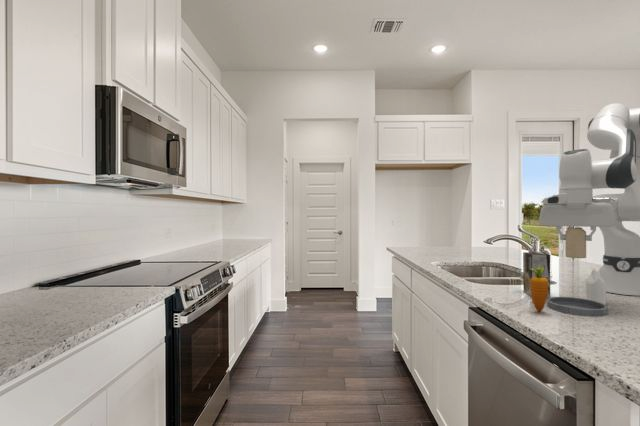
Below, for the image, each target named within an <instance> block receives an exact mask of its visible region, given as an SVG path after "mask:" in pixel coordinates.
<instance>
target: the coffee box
mask: <svg viewBox="0 0 640 426" xmlns="http://www.w3.org/2000/svg"><path fill="white" fill-rule="evenodd" d="M522 261H523V262H522V264H523V265H522V270H523V271H522V272H523V273H522V274H523V276H522V277H523V283H522V284H523V293H525V294H526V295H529V296H530V297H532V296H531V286H530V280H531V278H532V277H536V274H535V273H534V272H533V271H531V270H530V269H534V270H535V271H537V268H538V267H537V266H538V265H540V266H541V269H542V268H544V272H543V274H542V277H544V278H546V279H547V280H548V294H547V299H548V298H551V255H550V254H549V253H548V254H547V253H544V252H541V251H535V252H531V251H528V252H526V251H525V252H522Z"/></svg>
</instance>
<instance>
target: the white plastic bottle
mask: <svg viewBox="0 0 640 426" xmlns="http://www.w3.org/2000/svg"><path fill="white" fill-rule="evenodd" d="M585 293H586V295H585V296H586V299H587V300H592V301H596V302H600V303H603V304H605V305H607V292H606V283H605V282H604V280H603V278H602V277H601V276H600V275H599V273H598V270H597V269H595V268H592V269H591V273H590V275H589V276H588V277H587V278H586V281H585Z"/></svg>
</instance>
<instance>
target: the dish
mask: <svg viewBox="0 0 640 426" xmlns="http://www.w3.org/2000/svg"><path fill="white" fill-rule="evenodd" d="M546 307H547V308H549V309H551V310H553V311H556V312H558V313H559V312H560V313H564V314H569V315H574V316H580V317H581V316H582V317H594V318H595V317H605V316H608V314H609V310H608V309H609V308H608V307H609V306H608V305H607V304H603V303H600V302H596V301H592V300H587V298H581V297H573V296H572V297H571V296H552V297H551V296H550V298H547V299H546Z"/></svg>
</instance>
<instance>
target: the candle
mask: <svg viewBox="0 0 640 426" xmlns="http://www.w3.org/2000/svg"><path fill="white" fill-rule="evenodd" d="M586 235H587V231H586V230H585V229H584V228H583V227H581V226H575V227H574V226H570V227H569V228H568V229H566V230H565V240H564V241H565V244H564V245H565V248H564V249H565V257H566V258H569V259H586V258H587V241H586Z"/></svg>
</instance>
